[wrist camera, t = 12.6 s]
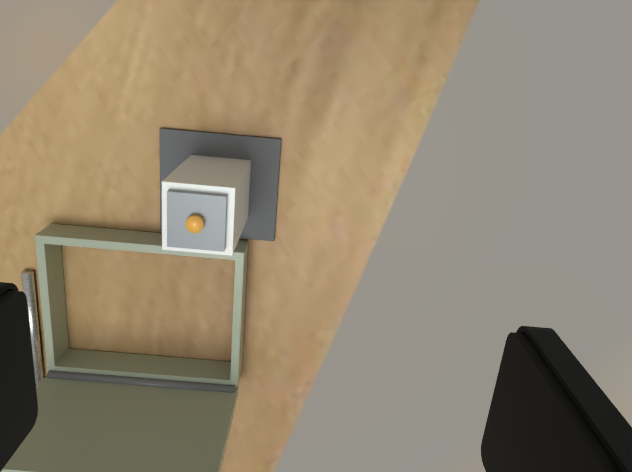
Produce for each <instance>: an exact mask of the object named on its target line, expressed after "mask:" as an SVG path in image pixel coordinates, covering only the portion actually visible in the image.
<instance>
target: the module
mask: <svg viewBox="0 0 632 472" xmlns="http://www.w3.org/2000/svg"><path fill="white" fill-rule="evenodd" d="M250 169H251V160H243V159H232V158H221V157H210V156H199V155H190V156H189V157H188V158H187V159H186V160H185V161H184V162H183V163H182V164H180V165H179V166H178V167H177V168H176V169H175V170H174V171H173V172H172V173H171V174H169V175H168V176H167V177H166V178H165V179H164V180H163V181H162V250H172V251H184V252H195V253H206V254H218V255H229V256H233V253H234V251H235V248H236V246H237V243H238V241H239V238H240V236H241V233H242V231H243V228H244V226H245V223H246V221H247V218H248V208H249V189H250Z"/></svg>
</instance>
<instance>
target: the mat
mask: <svg viewBox="0 0 632 472" xmlns="http://www.w3.org/2000/svg"><path fill="white" fill-rule="evenodd" d="M280 150H281V139H277V138H266V137H255V136H244V135H233V134H222V133H211V132H200V131H189V130H178V129H167V128H160V231H162V181H163V180H164V179H165V178H166V177H167V176H168V175H169V174H171V173H172V172H173V171H174V170H175V169H176V168H177V167H178V166H179V165H180V164H182V163H183V162H184V161H185V160H186V159H187V158H188V157H189V156H190V155H199V156H210V157H221V158H232V159H243V160H251V169H250V189H249V208H248V218H247V221H246V223H245V226H244V228H243V231H242V233H241V236H240V238H243V239H254V240H266V241H274V238H275V224H276V209H277V194H278V180H279V165H280Z"/></svg>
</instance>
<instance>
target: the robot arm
mask: <svg viewBox="0 0 632 472" xmlns="http://www.w3.org/2000/svg"><path fill="white" fill-rule="evenodd" d="M37 415H38V402H37V392H36V382H35V372H34V362H33V353H32V343H31V333H30V323H29V314H28V304H27V297H26V295H25V293H24V292H20V291H18V288H17V286H16V285H15V284H13V283H2V282H0V472H1V471H2V469H3V468H4V467H5V465H6V464H7V463H8V461H9V460H10V458H11V457H12V456H13V454H14V453H15V452H16V450H17V449H18V448H19V446H20V445H21V443H22V442H23V441H24V439H25V438H26V437H27V435H28V434H29V433H30V431H31V430H32V428H33V427H34V425H35V422H36V419H37ZM481 456H482V462H483V465H484V467H485V470H486V472H632V427H631V426H630V425H629V423H628V422H627V421H626V420H625V418H624V417H623V416H622V415H621V413H620V412H619V411H618V410H617V408H616V407H615V406H614V405H613V404H612V402H611V401H610V400H609V399H608V397H607V396H606V395H605V394H604V392H603V391H602V390H601V389H600V387H599V386H598V385H597V384H596V382H595V381H594V380H593V379H592V377H591V376H590V375H589V374H588V372H587V371H586V370H585V369H584V367H583V366H582V365H581V364H580V362H579V361H578V360H577V359H576V357H575V356H574V355H573V354H572V352H571V351H570V350H569V349H568V347H567V346H566V345H565V344H564V342H563V341H562V340H561V339H560V337H559V336H558V335H557V334H556V332H555V331H554V330H553V329H551V328H540V327H528V326H521V327H520V328H519V329H518V330H517V332H516V333H510V334H509V335H508V337H507V340H506V344H505V348H504V352H503V356H502V360H501V364H500V369H499V373H498V377H497V381H496V386H495V389H494V394H493V398H492V402H491V406H490V410H489V414H488V418H487V423H486V427H485V431H484V435H483V439H482V445H481Z"/></svg>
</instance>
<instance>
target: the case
mask: <svg viewBox="0 0 632 472" xmlns="http://www.w3.org/2000/svg"><path fill="white" fill-rule="evenodd" d="M35 242H36V252H37V263H38V274H39V285H40V296H41V306H42V317H43V328H44V339H45V349H46V360H47V371H48V373H47V376H46V377H45V378H44V379H43V380H42V382H41V383H40V384H39V385H38V387H37V388H36V392H37V402H38V415H37V419H36V422H35V425H34V427H33V428H32V430H31V431H30V433H29V434H28V435H27V437H26V438H25V439H24V441H23V442H22V443H21V445H20V446H19V448H18V449H17V450H16V452H15V453H14V454H13V456H12V457H11V458H10V460H9V461H8V463H7V464H6V465H5V467H4V468H3V469H2V471H1V472H220V470H221V466H222V461H223V457H224V453H225V448H226V444H227V440H228V435H229V431H230V426H231V422H232V418H233V413H234V409H235V405H236V400H237V396H238V383H239V379H240V375H241V371H242V357H243V338H244V318H245V298H246V279H247V259H248V240H239V241H238V243H237V246H236V248H235V251H234V253H233V256H229V255H218V254H206V253H195V252H184V251H172V250H162V233H155V232H144V231H132V230H121V229H109V228H97V227H86V226H74V225H63V224H50V225H49V226H47V227H46V228H44V229H43V230H42V231H40V232H39V233H37V234H36V235H35ZM61 245H65V246H77V247H89V248H100V249H112V250H124V251H136V252H147V253H159V254H171V255H182V256H194V257H206V258H217V259H229V260H235V280H234V304H233V327H232V351H231V362H229V361H217V360H204V359H192V358H180V357H167V356H155V355H143V354H130V353H118V352H105V351H93V350H81V349H69V342H68V329H67V315H66V302H65V289H64V276H63V262H62V249H61Z"/></svg>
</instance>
